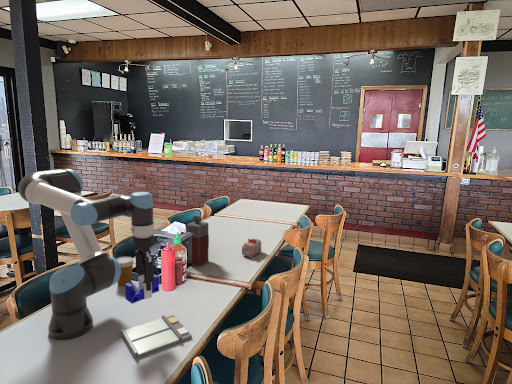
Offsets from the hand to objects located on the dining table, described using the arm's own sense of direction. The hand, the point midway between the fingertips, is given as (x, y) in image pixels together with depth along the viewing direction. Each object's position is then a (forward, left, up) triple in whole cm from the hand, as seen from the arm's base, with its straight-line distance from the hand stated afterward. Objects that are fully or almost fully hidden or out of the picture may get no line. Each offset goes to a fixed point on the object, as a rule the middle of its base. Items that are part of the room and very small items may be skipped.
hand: (145, 294), depth 130 cm
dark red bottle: (-51, +48, -16) cm, 72 cm away
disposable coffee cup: (-47, +5, -16) cm, 50 cm away
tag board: (+4, +2, -16) cm, 16 cm away
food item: (-44, +80, -16) cm, 93 cm away
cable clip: (0, -1, 0) cm, 1 cm away
